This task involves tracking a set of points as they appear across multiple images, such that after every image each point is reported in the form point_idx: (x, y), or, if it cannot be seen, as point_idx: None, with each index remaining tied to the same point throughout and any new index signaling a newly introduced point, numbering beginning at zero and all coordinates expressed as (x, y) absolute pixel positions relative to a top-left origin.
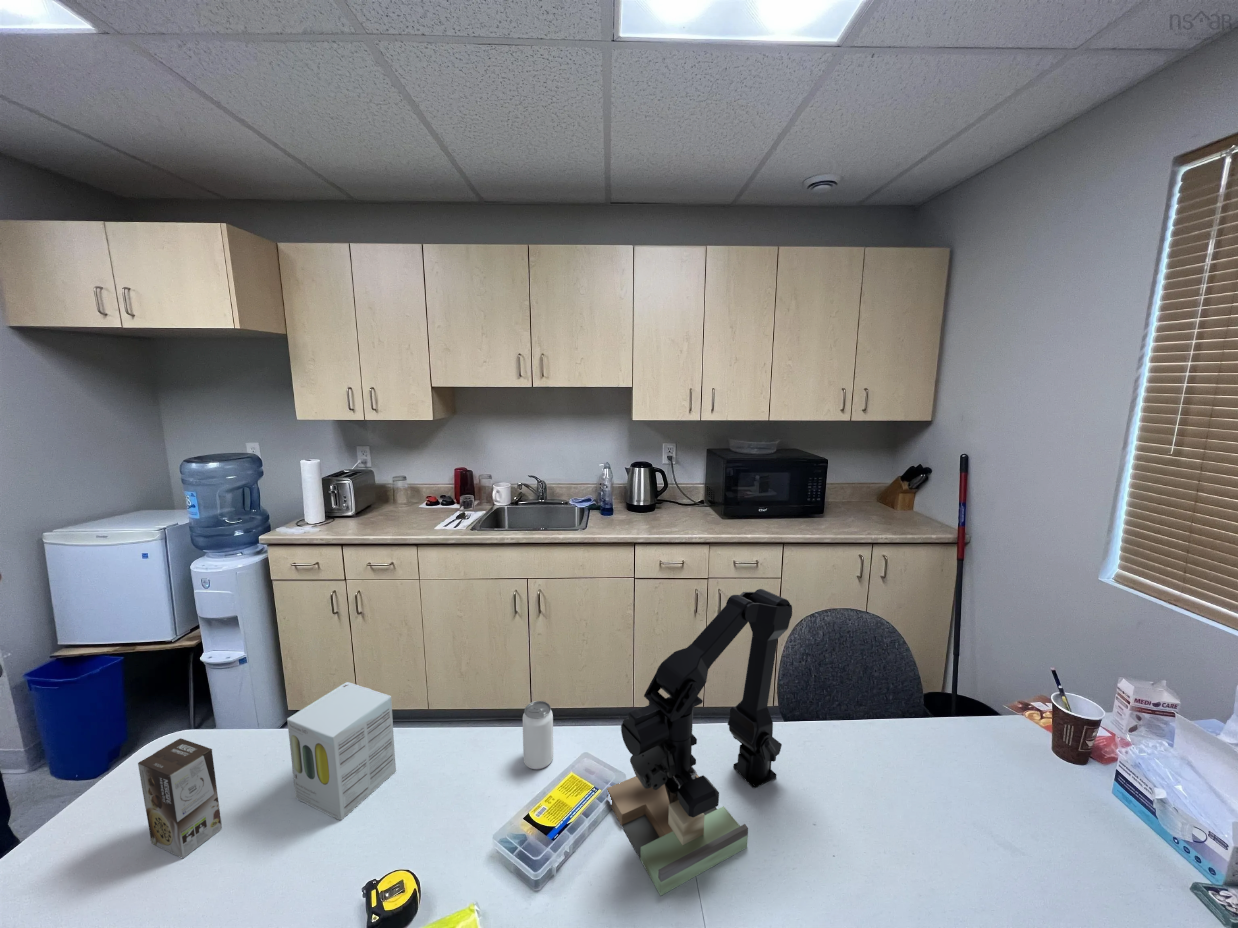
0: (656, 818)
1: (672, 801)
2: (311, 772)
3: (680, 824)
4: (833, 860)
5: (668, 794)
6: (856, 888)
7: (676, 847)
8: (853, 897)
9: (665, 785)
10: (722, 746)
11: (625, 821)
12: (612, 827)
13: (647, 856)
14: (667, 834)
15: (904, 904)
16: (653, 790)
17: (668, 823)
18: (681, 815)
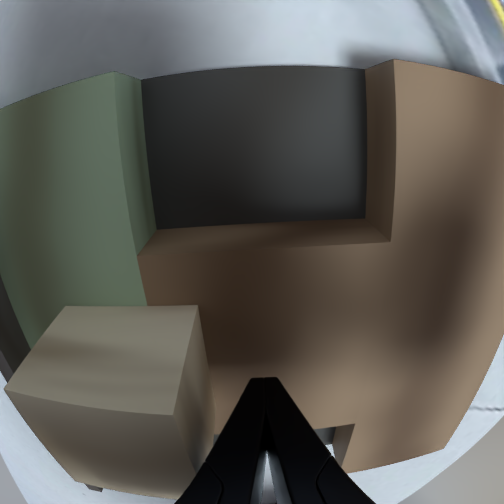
0: (263, 258)
1: (226, 425)
2: None
3: (34, 376)
4: (75, 489)
5: (282, 435)
6: (36, 475)
7: (61, 273)
8: (23, 464)
9: (323, 479)
10: (394, 490)
11: (370, 91)
12: (373, 28)
13: (54, 96)
14: (135, 267)
15: (25, 483)
16: (427, 320)
17: (194, 307)
18: (67, 420)
